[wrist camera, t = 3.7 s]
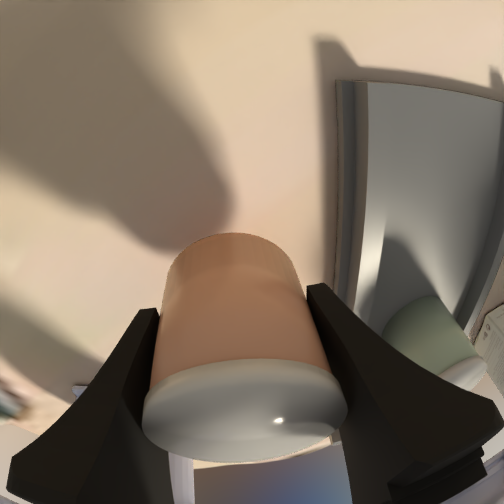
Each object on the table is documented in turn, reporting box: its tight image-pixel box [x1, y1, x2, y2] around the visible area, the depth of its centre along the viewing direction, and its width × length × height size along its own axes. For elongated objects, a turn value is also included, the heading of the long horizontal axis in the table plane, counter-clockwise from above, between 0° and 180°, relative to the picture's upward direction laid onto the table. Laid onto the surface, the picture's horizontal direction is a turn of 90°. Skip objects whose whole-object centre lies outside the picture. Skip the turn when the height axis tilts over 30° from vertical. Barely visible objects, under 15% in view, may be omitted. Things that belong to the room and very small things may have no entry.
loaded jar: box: [381, 296, 487, 391], centre depth 15 cm, size 5×5×6 cm
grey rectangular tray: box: [329, 80, 504, 446], centre depth 16 cm, size 12×26×4 cm, turn 6°
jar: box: [142, 233, 348, 463], centre depth 9 cm, size 5×5×6 cm
